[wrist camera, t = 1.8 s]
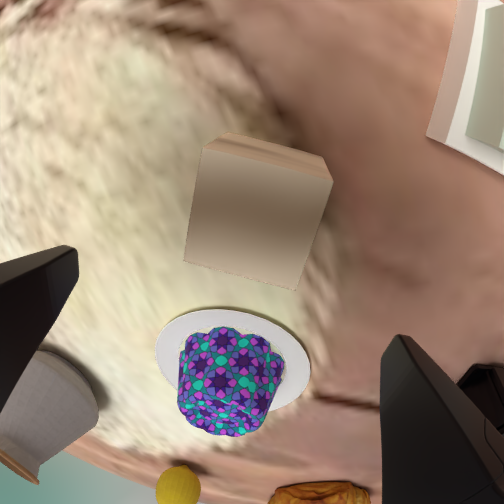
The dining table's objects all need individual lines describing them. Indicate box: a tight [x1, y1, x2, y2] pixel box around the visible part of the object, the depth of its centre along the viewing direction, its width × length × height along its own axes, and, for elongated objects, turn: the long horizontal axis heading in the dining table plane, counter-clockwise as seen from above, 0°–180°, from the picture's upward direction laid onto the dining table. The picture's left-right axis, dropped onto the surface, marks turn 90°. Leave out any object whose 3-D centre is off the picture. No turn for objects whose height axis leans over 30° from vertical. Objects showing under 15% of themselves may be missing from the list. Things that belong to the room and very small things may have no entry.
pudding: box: [155, 309, 310, 437], centre depth 22 cm, size 12×12×5 cm
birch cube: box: [184, 132, 334, 291], centre depth 15 cm, size 5×5×5 cm
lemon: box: [156, 465, 201, 504], centre depth 31 cm, size 6×6×8 cm
